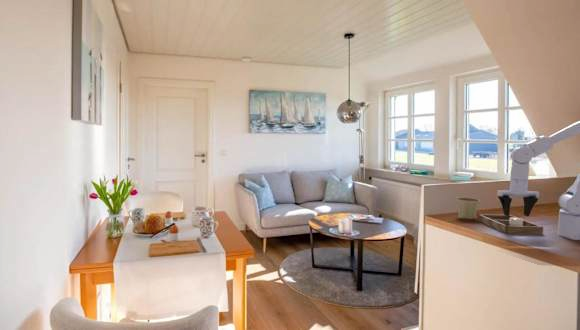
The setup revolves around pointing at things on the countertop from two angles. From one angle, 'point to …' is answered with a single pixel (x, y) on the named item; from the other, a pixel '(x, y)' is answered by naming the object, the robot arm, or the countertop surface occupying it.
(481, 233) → the countertop surface
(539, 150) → the robot arm
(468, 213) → the flower pot
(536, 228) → the bin
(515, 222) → the white rounded egg-shaped piece
